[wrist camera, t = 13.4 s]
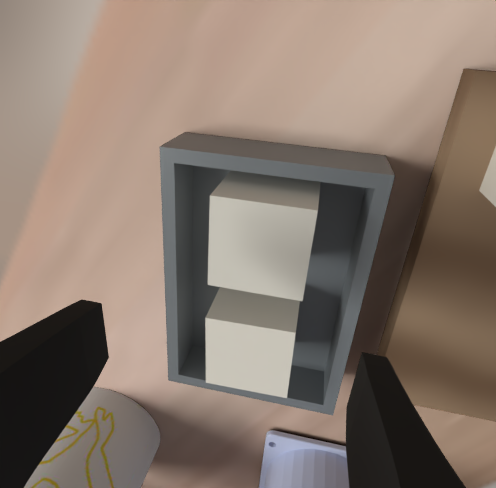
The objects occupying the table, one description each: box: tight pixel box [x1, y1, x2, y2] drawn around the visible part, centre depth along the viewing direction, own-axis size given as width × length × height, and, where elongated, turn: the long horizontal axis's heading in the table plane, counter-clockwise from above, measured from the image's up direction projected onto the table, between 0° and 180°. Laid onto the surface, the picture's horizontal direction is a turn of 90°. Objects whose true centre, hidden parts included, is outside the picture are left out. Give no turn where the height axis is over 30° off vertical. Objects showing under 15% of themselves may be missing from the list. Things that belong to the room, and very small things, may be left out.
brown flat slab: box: [377, 69, 496, 422], centre depth 18 cm, size 16×7×2 cm, turn 176°
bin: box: [160, 132, 395, 415], centre depth 19 cm, size 13×9×3 cm
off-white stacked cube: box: [208, 170, 321, 301], centre depth 17 cm, size 4×4×4 cm
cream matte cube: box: [205, 287, 300, 398], centre depth 19 cm, size 4×4×4 cm
